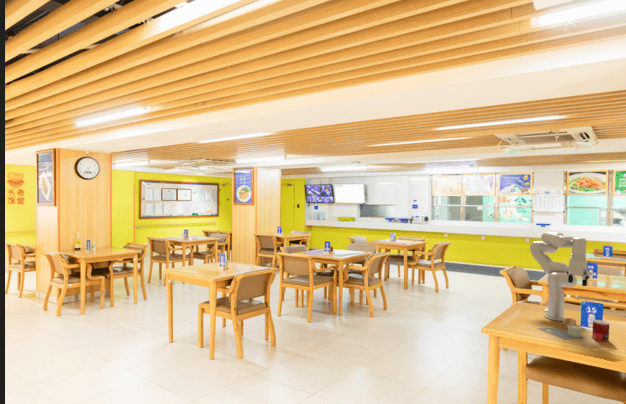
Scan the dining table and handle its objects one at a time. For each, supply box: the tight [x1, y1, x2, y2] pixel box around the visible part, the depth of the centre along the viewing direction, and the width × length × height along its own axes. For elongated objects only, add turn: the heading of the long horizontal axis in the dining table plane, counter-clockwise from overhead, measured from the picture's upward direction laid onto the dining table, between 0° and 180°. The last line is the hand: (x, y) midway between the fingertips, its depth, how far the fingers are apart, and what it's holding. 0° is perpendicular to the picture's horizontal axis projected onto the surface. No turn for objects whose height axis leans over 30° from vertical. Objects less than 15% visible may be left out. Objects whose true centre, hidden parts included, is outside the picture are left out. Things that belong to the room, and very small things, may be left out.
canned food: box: [591, 319, 610, 343], centre depth 237 cm, size 8×8×11 cm
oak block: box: [562, 317, 577, 330], centre depth 257 cm, size 5×5×6 cm
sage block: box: [567, 325, 583, 337], centre depth 243 cm, size 5×5×5 cm
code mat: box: [538, 326, 586, 341], centre depth 246 cm, size 20×16×1 cm
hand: (577, 284), depth 258 cm, fingers open, 9 cm apart
